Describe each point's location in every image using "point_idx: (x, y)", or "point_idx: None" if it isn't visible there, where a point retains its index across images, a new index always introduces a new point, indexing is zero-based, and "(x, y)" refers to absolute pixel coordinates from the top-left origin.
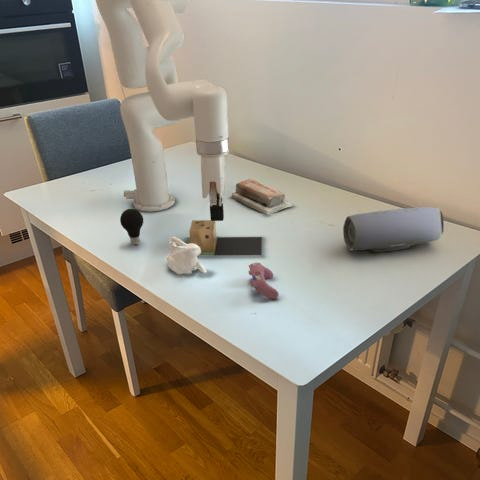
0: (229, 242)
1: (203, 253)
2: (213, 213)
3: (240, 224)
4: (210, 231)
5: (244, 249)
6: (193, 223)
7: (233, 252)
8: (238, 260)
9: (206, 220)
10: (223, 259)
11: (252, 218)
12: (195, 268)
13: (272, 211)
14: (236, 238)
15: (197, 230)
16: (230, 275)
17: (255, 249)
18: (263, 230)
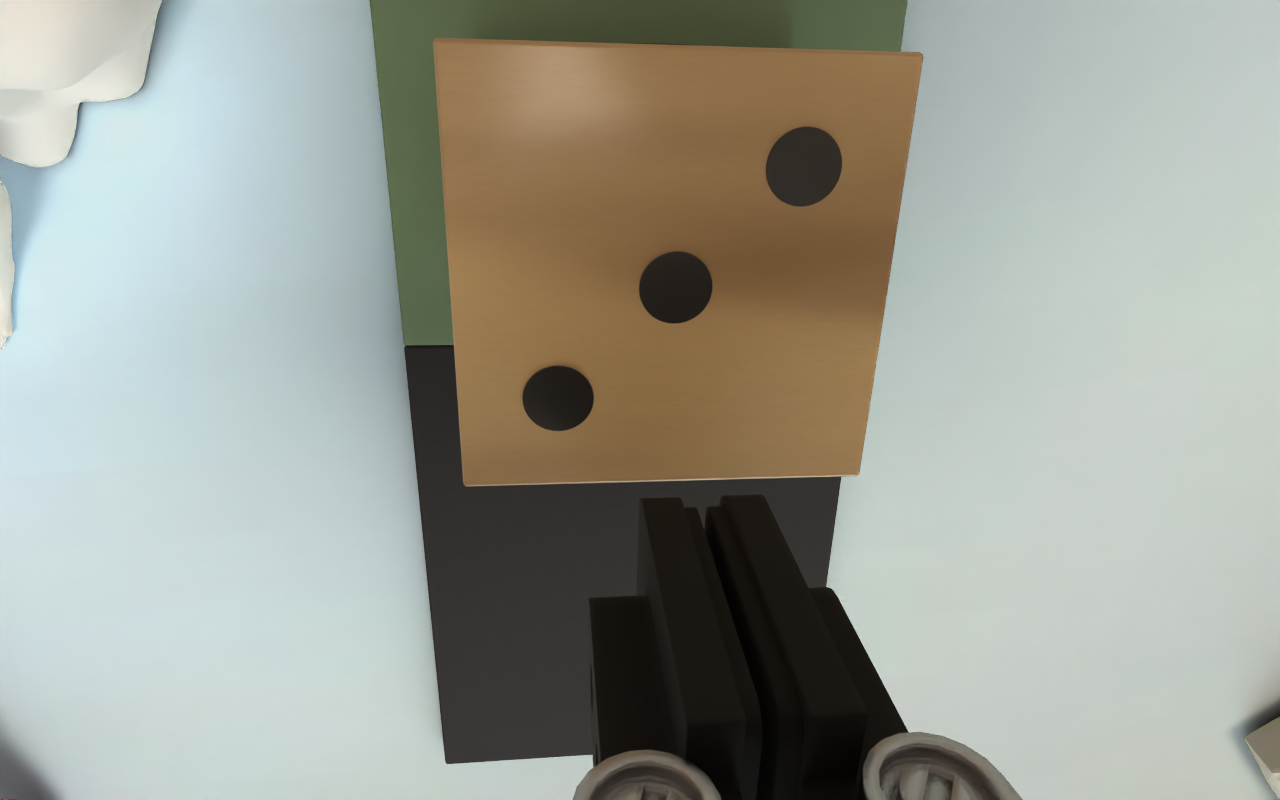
0: (715, 483)
1: (441, 215)
2: (592, 671)
3: (1141, 535)
4: (464, 435)
5: (555, 628)
6: (773, 94)
7: (487, 539)
8: (360, 580)
9: (870, 335)
10: (366, 441)
11: (1235, 626)
12: (4, 152)
13: (1274, 791)
14: (802, 540)
15: (453, 214)
16: (29, 537)
17: (555, 714)
18: (959, 726)
